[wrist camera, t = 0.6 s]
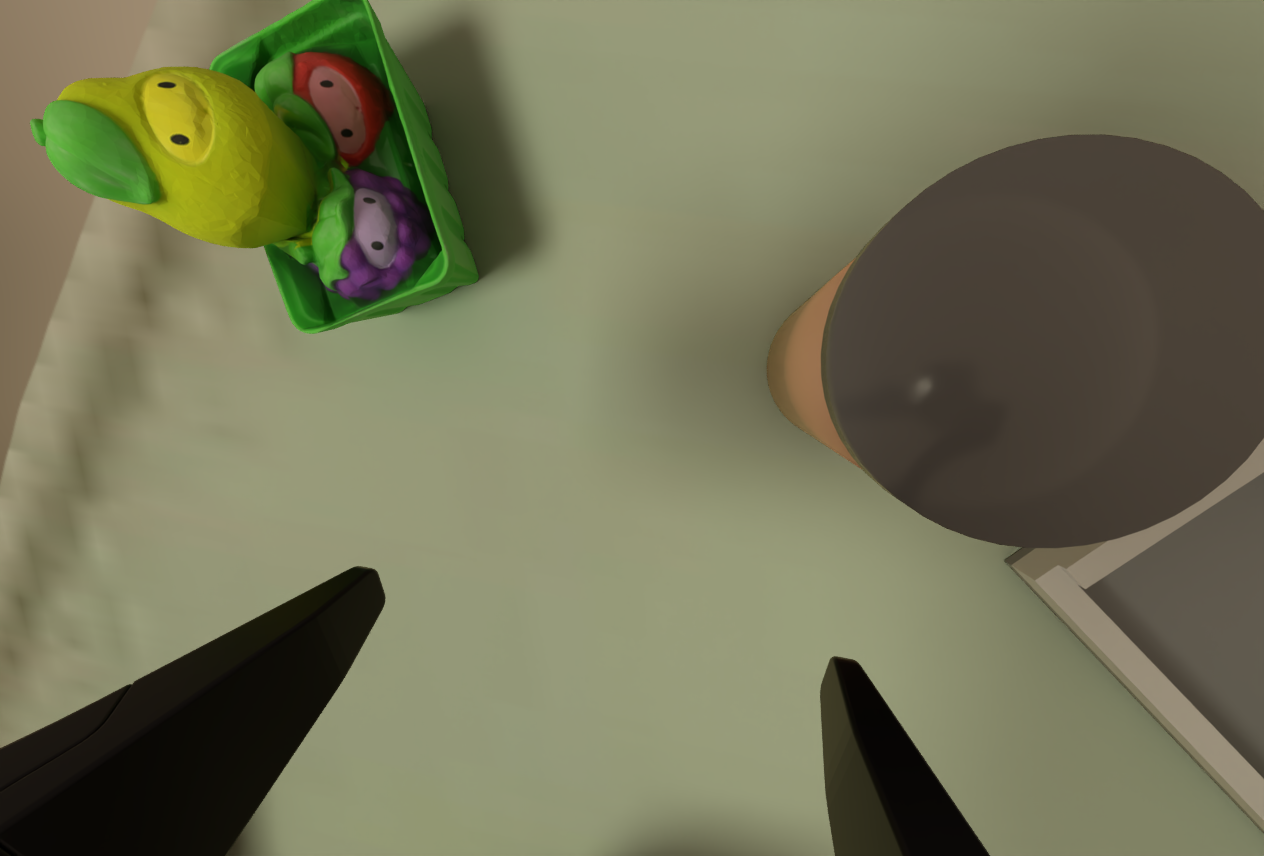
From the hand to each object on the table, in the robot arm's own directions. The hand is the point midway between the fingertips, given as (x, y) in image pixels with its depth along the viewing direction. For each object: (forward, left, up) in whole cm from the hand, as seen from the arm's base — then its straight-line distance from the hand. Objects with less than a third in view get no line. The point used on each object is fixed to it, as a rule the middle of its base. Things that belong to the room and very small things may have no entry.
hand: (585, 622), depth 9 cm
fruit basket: (+14, +12, -14) cm, 23 cm away
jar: (+4, -8, -14) cm, 16 cm away
